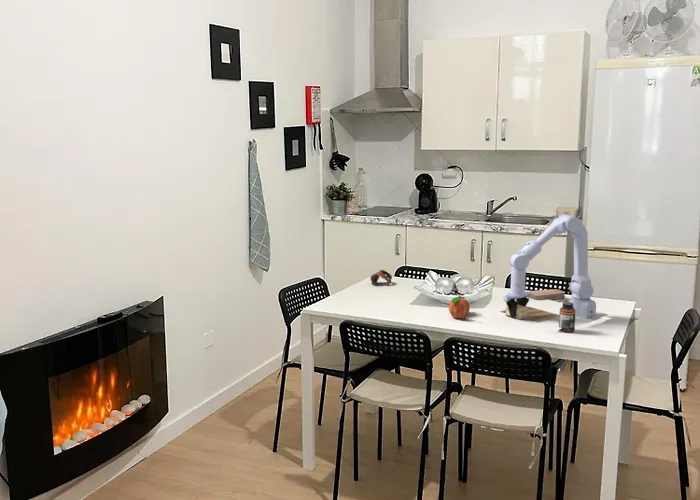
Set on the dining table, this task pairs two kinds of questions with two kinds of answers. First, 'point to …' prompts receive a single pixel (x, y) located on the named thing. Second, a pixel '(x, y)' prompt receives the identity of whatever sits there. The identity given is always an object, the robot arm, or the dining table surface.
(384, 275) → the brown arch piece
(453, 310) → the fruit
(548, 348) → the dining table surface
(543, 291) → the packaged product
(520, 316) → the block
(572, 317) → the supplement bottle
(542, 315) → the walnut board
